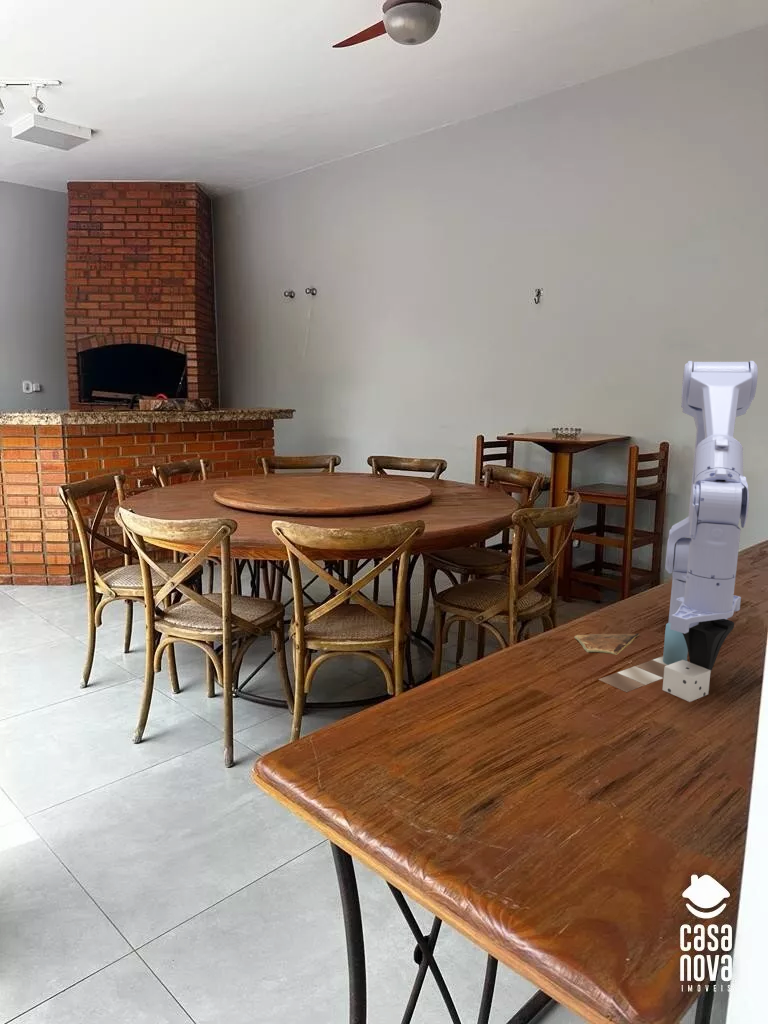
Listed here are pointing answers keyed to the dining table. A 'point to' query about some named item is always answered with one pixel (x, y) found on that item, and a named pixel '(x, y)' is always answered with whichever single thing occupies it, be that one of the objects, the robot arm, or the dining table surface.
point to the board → (637, 675)
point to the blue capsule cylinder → (674, 646)
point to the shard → (605, 642)
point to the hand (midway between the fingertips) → (700, 671)
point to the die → (686, 680)
